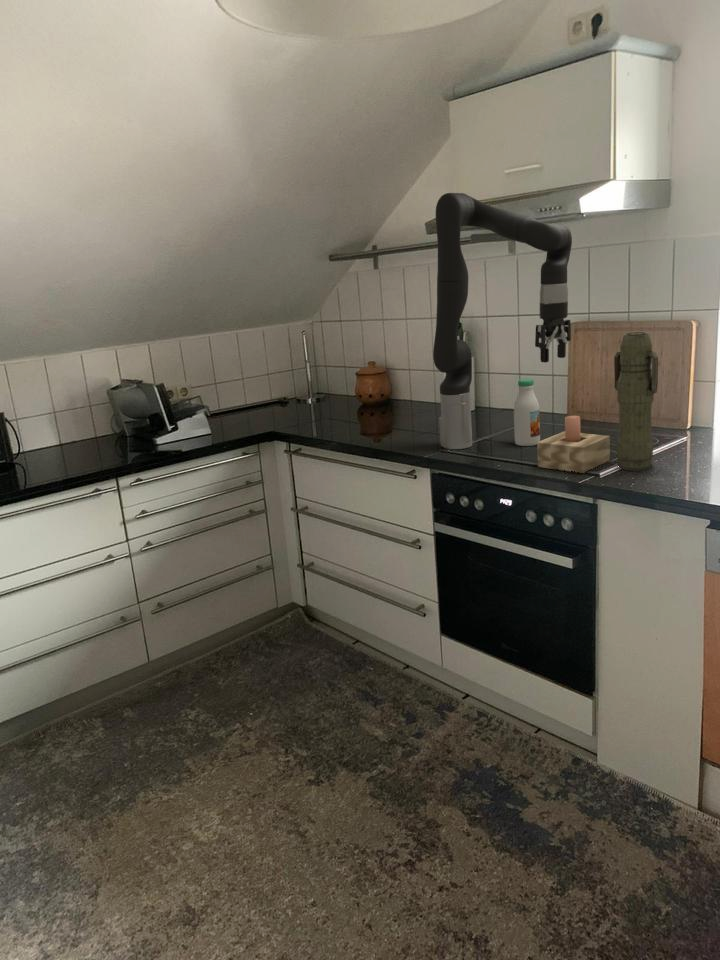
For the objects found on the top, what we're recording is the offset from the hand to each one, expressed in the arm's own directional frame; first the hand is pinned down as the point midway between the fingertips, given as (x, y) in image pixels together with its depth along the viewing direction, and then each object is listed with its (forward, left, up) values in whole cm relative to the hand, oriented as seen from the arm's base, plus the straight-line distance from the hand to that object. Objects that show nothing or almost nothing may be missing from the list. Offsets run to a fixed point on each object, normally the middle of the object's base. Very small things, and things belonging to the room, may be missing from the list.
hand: (553, 359), depth 208 cm
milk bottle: (-14, +8, -28) cm, 32 cm away
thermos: (+25, -1, -28) cm, 37 cm away
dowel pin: (+10, -6, -25) cm, 28 cm away
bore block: (+10, -6, -28) cm, 30 cm away
